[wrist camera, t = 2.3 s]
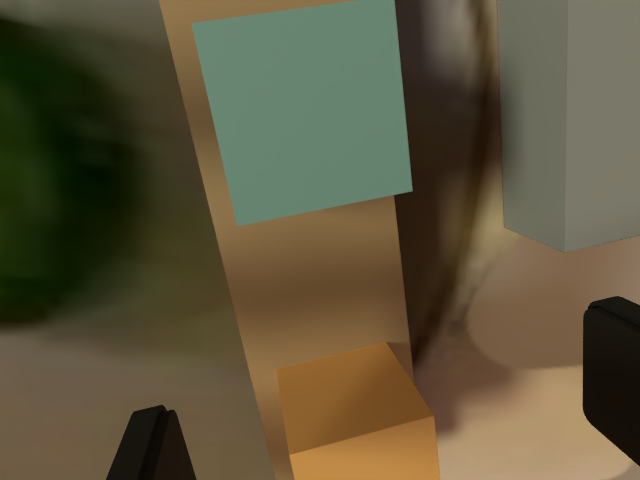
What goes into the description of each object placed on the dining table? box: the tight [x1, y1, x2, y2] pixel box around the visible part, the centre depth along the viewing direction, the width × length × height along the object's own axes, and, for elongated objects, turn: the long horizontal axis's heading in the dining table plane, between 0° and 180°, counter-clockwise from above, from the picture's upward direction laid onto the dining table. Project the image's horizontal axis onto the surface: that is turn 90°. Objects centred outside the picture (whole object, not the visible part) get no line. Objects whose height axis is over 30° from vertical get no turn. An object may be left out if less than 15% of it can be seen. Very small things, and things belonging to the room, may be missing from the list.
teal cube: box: [191, 0, 413, 226], centre depth 12 cm, size 4×4×4 cm
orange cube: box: [276, 342, 440, 480], centre depth 16 cm, size 4×4×4 cm
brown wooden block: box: [159, 0, 415, 480], centre depth 18 cm, size 22×6×4 cm, turn 9°
